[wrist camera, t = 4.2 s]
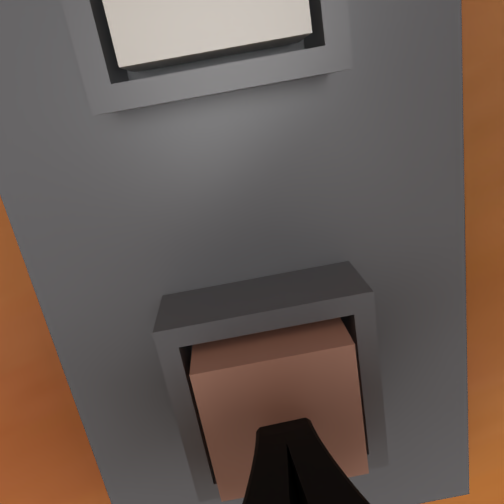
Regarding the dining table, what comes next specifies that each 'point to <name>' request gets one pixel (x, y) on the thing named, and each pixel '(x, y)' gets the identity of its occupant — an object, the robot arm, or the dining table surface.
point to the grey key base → (245, 227)
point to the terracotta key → (278, 395)
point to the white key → (200, 29)
